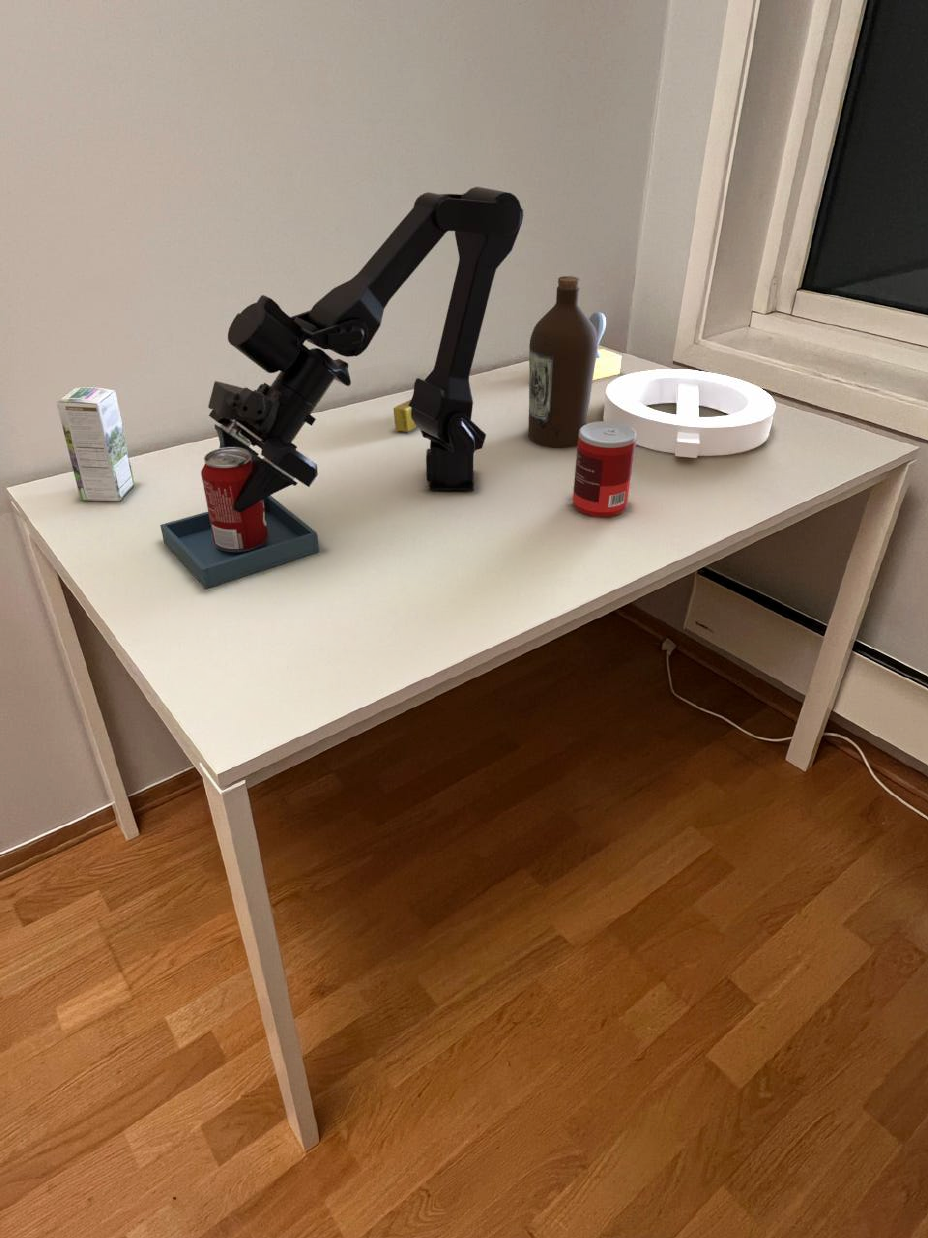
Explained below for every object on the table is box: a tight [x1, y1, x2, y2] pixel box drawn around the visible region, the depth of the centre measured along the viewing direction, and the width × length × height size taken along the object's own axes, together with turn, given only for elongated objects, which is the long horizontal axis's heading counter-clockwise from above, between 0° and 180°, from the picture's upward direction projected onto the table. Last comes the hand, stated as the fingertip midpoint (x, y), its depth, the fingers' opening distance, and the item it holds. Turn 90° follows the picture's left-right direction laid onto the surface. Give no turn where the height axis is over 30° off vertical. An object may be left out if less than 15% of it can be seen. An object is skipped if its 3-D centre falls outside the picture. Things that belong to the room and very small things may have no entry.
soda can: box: [200, 447, 268, 553], centre depth 104 cm, size 7×7×12 cm
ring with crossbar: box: [603, 368, 776, 459], centre depth 144 cm, size 28×28×5 cm
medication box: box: [392, 399, 418, 432], centre depth 143 cm, size 12×3×4 cm, turn 149°
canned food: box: [572, 420, 637, 518], centre depth 116 cm, size 8×8×11 cm
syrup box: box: [56, 386, 135, 502], centre depth 116 cm, size 6×6×14 cm
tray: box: [159, 495, 320, 590], centre depth 107 cm, size 15×14×3 cm
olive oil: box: [527, 275, 599, 448], centre depth 132 cm, size 11×11×25 cm
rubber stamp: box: [588, 311, 622, 381], centre depth 162 cm, size 10×6×12 cm, turn 126°
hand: (223, 499), depth 103 cm, fingers closed on soda can, 7 cm apart
